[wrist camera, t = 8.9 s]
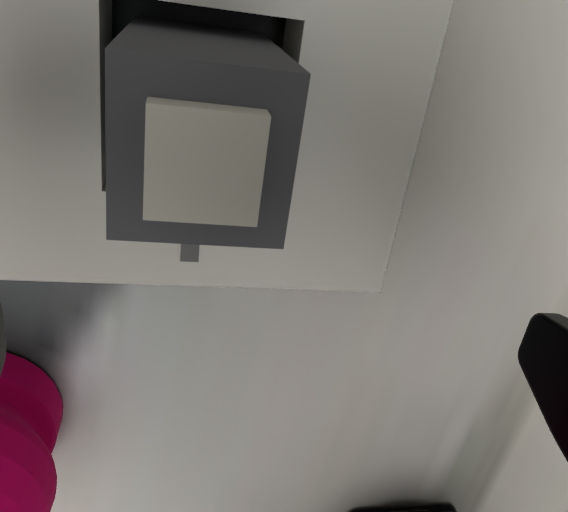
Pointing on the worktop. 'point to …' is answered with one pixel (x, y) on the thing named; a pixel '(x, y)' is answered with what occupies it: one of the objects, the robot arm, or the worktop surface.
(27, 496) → the pepper mill
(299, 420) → the worktop surface
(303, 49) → the socket plate
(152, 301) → the worktop surface
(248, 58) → the plug
